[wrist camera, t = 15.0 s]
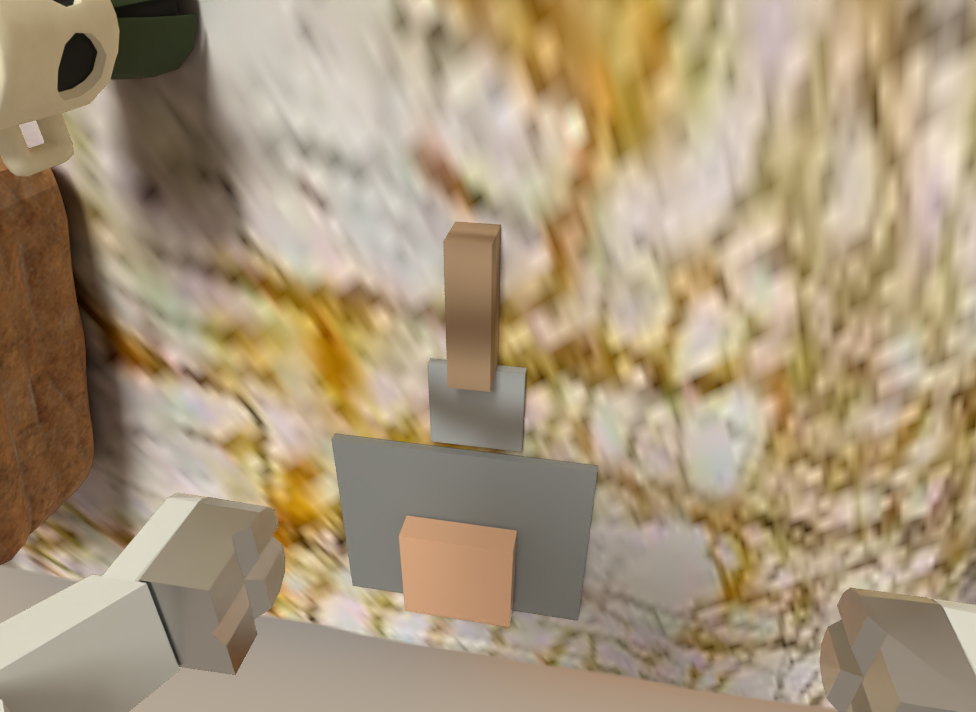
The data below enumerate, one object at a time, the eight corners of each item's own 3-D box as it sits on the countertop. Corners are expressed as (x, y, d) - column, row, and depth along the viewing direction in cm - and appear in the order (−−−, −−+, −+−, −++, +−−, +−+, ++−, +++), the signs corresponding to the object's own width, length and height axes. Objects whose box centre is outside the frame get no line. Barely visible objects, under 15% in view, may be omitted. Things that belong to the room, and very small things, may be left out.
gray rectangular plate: (597, 465, 43) (597, 471, 43) (578, 613, 51) (577, 620, 50) (335, 433, 46) (331, 439, 45) (355, 579, 53) (352, 585, 53)
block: (512, 552, 45) (509, 627, 49) (517, 528, 46) (513, 603, 51) (398, 536, 46) (405, 610, 50) (407, 513, 48) (412, 587, 52)
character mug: (236, 118, 35) (62, 194, 24) (118, 120, 36) (-99, 194, 25) (175, -136, 29) (-87, -186, 19) (37, -123, 31) (-285, -162, 20)
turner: (424, 219, 36) (410, 239, 34) (533, 226, 35) (526, 247, 33) (434, 433, 44) (422, 462, 42) (522, 444, 43) (516, 474, 41)
